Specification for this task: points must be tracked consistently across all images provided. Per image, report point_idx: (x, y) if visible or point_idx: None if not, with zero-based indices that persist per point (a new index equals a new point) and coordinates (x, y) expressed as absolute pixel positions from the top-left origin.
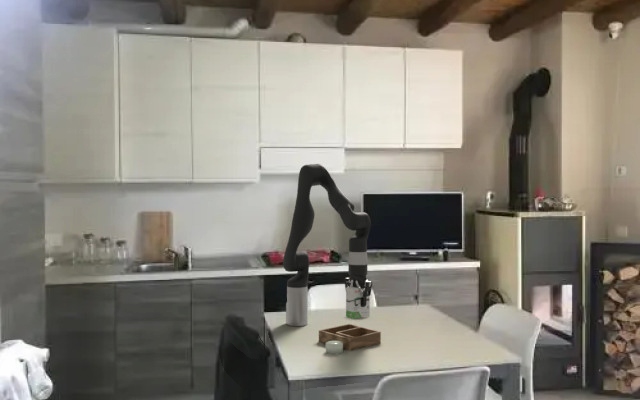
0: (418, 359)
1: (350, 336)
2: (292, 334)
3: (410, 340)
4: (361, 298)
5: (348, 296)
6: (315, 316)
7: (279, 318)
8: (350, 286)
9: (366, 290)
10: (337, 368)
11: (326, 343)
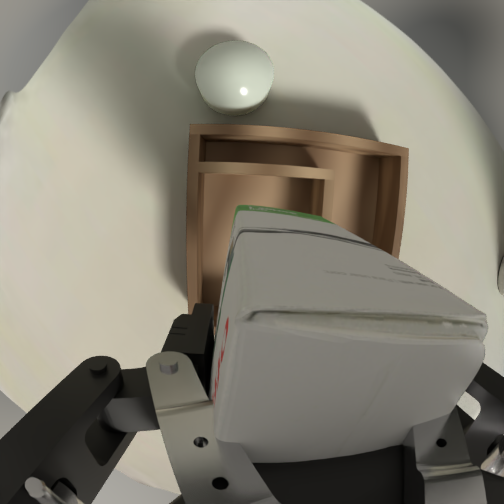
0: (14, 248)
1: (223, 163)
2: (480, 170)
3: None
4: (187, 346)
5: (355, 253)
6: (500, 349)
7: None
8: (447, 416)
9: (42, 408)
10: (108, 6)
11: (253, 45)
